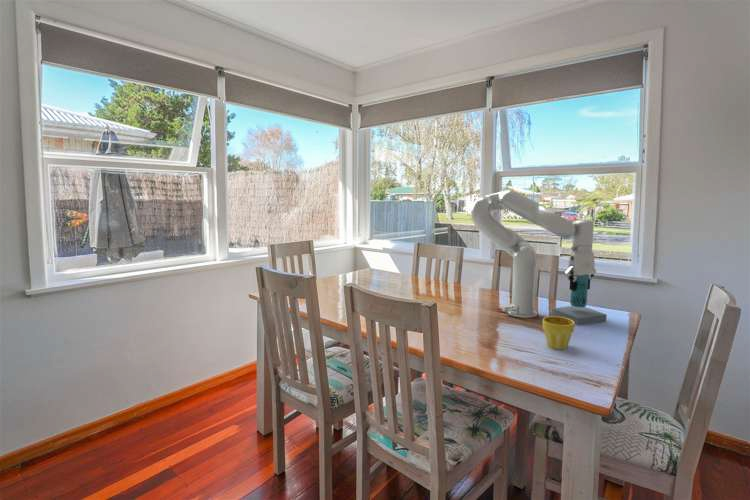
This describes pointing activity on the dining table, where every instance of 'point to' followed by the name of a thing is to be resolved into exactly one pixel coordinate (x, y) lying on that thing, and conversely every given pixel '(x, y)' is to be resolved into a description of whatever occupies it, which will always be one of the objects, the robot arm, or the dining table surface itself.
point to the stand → (580, 314)
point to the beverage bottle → (580, 292)
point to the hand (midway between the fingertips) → (579, 289)
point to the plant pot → (558, 331)
